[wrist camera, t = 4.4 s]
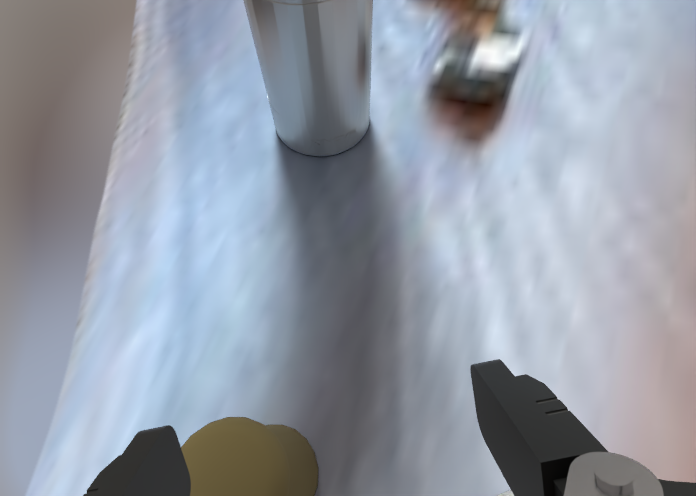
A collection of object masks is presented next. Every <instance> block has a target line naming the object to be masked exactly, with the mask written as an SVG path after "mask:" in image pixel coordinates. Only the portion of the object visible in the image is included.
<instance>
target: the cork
mask: <svg viewBox="0 0 696 496" xmlns="http://www.w3.org/2000/svg"><path fill="white" fill-rule="evenodd" d="M181 450H182V453H183V456H184V459H185V462H186V465H187V468H188V471H189V474H190V479H191V491H190V496H314V495H315V492H316V489H317V486H318V465H317V461H316V457H315V452H314V451H313V449H312V447H311V446H310V444H309V442H308V441H307V439H306V438H305V437H303V436H302V435H301V434H300V433H299V432H298V431H297V430H295V429H292V428H290V427H287V426H284V425H266V426H265V425H263V424H261V423H259V422H256V421H254V420H251V419H248V418H246V417H227V418H223V419H220V420H217V421H214V422H211V423H209V424H207V425H206V426H204V427H203V428H201V429H200V430H198V431H197V432H196V433H194V434H193V435H191V436H190V438H189V439H188V440H187V441H186V442H185V444H184V445H183V446H182V447H181Z"/></svg>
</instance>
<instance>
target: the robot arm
mask: <svg viewBox="0 0 696 496" xmlns="http://www.w3.org/2000/svg"><path fill="white" fill-rule="evenodd" d="M244 4H245V8H246V12H247V16H248V20H249V24H250V28H251V32H252V36H253V40H254V44H255V48H256V52H257V56H258V60H259V63H260V67H261V71H262V75H263V79H264V83H265V87H266V91H267V96H268V100H269V104H270V108H271V112H272V115H273V119H274V123H275V127H276V130H277V133H278V136H279V137H280V139H281V140H282V142H284V143H285V144H286V145H287V146H288V147H289V148H291V149H293V150H295V151H296V152H299V153H302V154H305V155H311V156H329V155H334V154H338V153H341V152H343V151H346V150H348V149H350V148H351V147H353V146H355V145H356V144H357V143H358V142H359V141H360V140H361V139H362V138H363V136H364V135H365V133H366V132H367V129H368V126H369V118H370V89H371V50H372V11H373V0H244ZM471 378H472V384H473V391H474V398H475V405H476V412H477V418H478V423H479V426H480V430H481V433H482V435H483V438H484V440H485V442H486V444H487V446H488V448H489V450H490V452H491V454H492V455H493V457H494V459H495V461H496V463H497V465H498V466H499V468H500V470H501V472H502V474H503V476H504V478H505V479H506V481H507V483H508V485H509V487H510V489H511V491H512V492H513V494H514V496H696V483H689V482H674V481H665V480H660V479H657V477H656V476H655V475H654V474H653V473H652V472H651V471H650V470H649V469H647V468H646V467H645V466H643V465H642V464H640V463H639V462H637V461H635V460H633V459H631V458H628V457H625V456H623V455H619V454H615V453H610V452H608V451H607V450H606V449H605V448H604V447H603V446H602V445H601V443H600V442H599V441H598V440H597V439H596V438H595V437H594V436H593V435H592V434H591V433H590V432H589V431H588V430H587V429H586V428H585V426H584V425H583V424H582V423H581V422H580V421H579V420H578V419H577V418H576V417H575V416H574V415H573V414H572V413H571V412H570V411H568V409H567V407H566V406H565V405H564V404H563V403H562V402H561V401H560V400H558V399H557V397H556V396H555V395H554V393H553V392H552V391H551V390H550V389H549V388H548V387H547V386H546V385H545V384H544V383H542V382H540V381H538V380H536V379H534V378H532V377H530V376H528V375H526V374H525V375H520V376H516V377H515V376H514V375H513V374H512V373H511V371H510V370H509V369H508V368H507V367H506V365H505V364H504V363H503V362H502V361H501V360H500V359H498V360H493V361H488V362H483V363H478V364H473V365H471ZM190 491H191V479H190V474H189V471H188V468H187V465H186V462H185V459H184V456H183V453H182V450H181V447H180V444H179V441H178V438H177V435H176V432H175V430H174V429H173V427H171V426H169V425H168V426H163V427H158V428H153V429H148V430H143V431H140V432H138V433H137V434H136V436H135V437H134V438H133V440H132V441H131V443H130V444H129V445H128V447H127V448H126V450H125V451H124V453H123V454H122V455H120V456H118V457H117V458H116V459H115V460H114V461H113V462H111V463H110V464H109V465H108V466H107V467H106V468H105V469H103V470H102V471H101V472H100V473H99V475H98V476H97V477H96V479H95V480H94V481H93V483H92V484H91V486H90V487H89V488H88V490H87V494H84V495H83V496H190Z"/></svg>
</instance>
